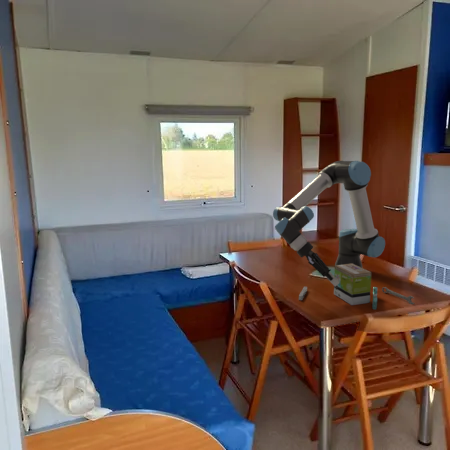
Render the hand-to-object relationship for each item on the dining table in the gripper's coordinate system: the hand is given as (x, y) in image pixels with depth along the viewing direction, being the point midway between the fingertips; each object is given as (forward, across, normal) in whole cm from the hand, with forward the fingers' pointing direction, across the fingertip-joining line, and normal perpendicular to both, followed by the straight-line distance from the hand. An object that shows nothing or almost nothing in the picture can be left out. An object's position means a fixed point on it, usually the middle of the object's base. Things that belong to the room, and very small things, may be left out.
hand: (337, 284), depth 192 cm
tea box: (+10, -2, -1) cm, 10 cm away
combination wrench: (+24, -10, +13) cm, 29 cm away
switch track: (+6, 0, -4) cm, 7 cm away
